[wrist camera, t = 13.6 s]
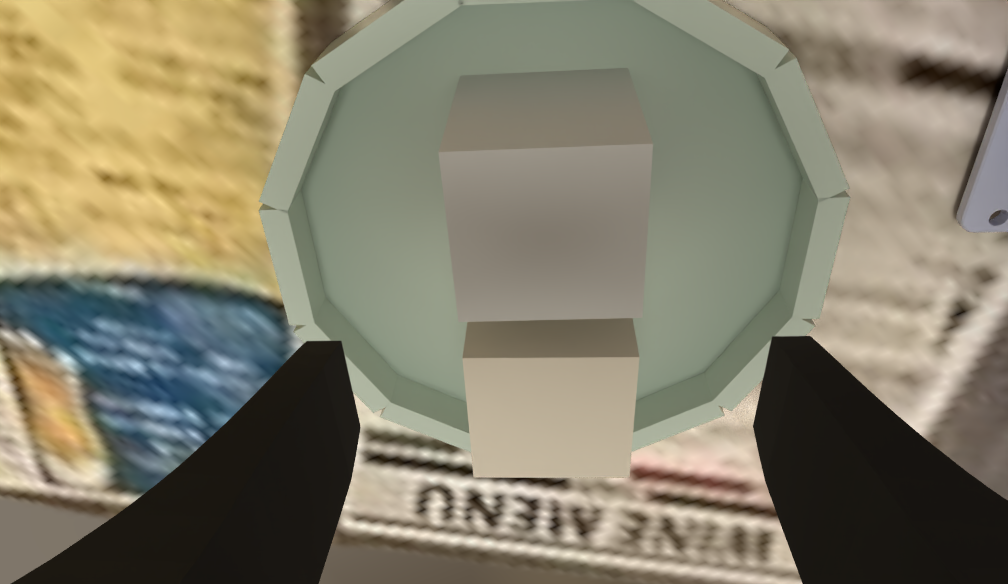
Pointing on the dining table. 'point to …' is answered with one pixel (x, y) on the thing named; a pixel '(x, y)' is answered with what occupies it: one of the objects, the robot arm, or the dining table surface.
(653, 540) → the dining table surface
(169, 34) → the dining table surface
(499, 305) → the grey stone block
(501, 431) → the beige stone block
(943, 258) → the dining table surface
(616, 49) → the serving bowl
